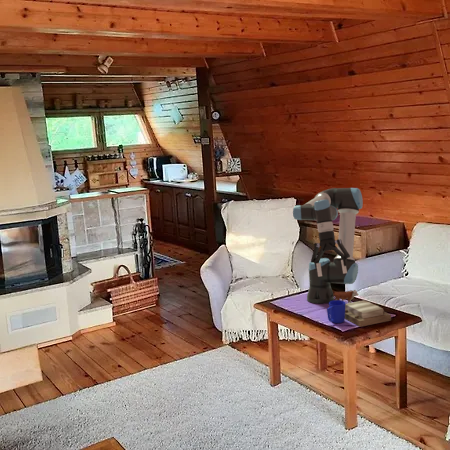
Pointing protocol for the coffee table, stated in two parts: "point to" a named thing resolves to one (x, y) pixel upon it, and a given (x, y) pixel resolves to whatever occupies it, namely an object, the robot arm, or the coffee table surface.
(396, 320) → the coffee table surface
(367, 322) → the plinth
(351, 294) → the bull figurine
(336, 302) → the mug
